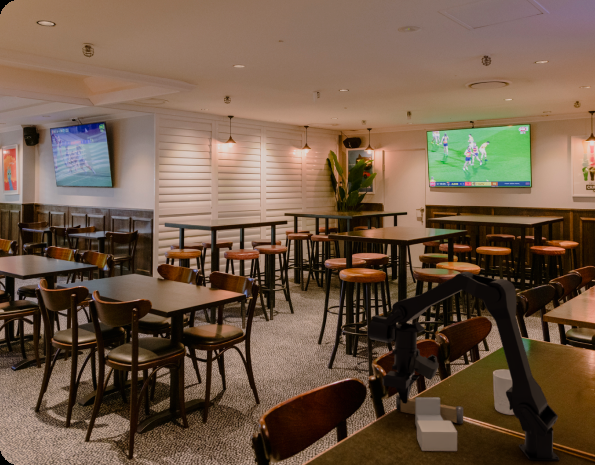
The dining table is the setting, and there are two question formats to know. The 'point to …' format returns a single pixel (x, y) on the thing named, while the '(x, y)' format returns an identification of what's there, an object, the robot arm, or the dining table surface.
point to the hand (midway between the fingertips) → (404, 403)
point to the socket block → (436, 435)
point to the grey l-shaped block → (427, 409)
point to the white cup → (502, 390)
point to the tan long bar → (445, 411)
